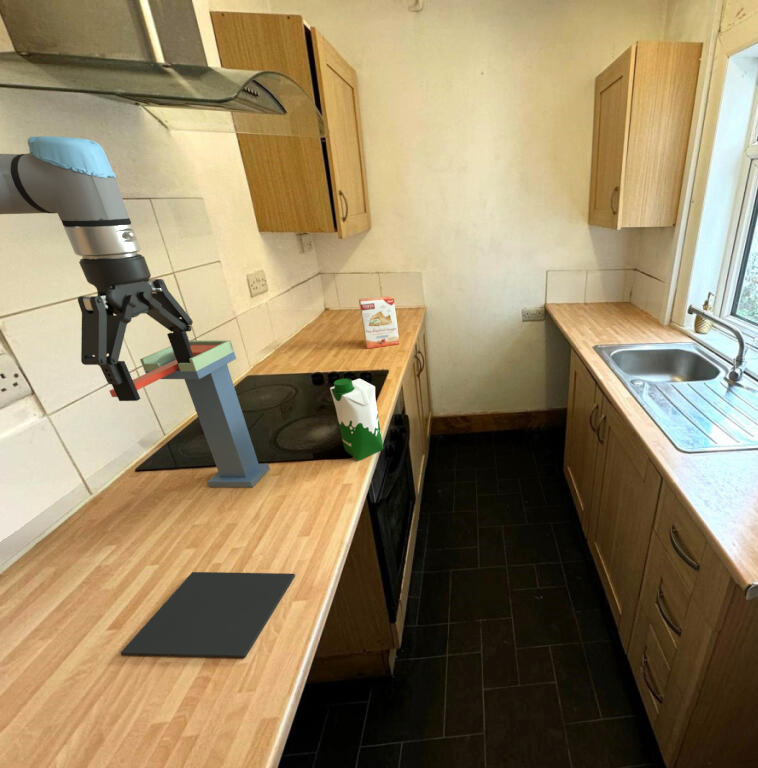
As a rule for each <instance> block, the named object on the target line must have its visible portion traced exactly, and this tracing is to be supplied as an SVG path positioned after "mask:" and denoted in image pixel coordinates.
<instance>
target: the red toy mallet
mask: <svg viewBox="0 0 758 768" xmlns="http://www.w3.org/2000/svg"><path fill="white" fill-rule="evenodd" d="M190 346H191V347H190V348H191V351H192V354H193V356H194V357H195V356H197V355H199V354H201V353H203V352H205V351H207V350H209V349H211V348H213V347H215V346H217V345H190ZM173 353H174V352H173ZM174 356H175V354H174ZM175 358H176V357H175ZM177 370H179V366H178V362H177V359H176V360H175V361H172V362H170V363H168V364H166V365H164V366H162V367H159V368H157V369H155V370H153V371H151V372H149V373H144V374H142V375H140V376H138V377H136V378H132V380H133V382H134V385H135V387H136V389H137V391H139V390H141V389H143V388H145V387H147V386H149V385H151V384H153V383H155V382H157V381H159V380H162V379H161V378H163V377H165V376H167V375H169V374H171V373H173V372H175V371H177ZM109 394H110V396H111V397H112V398H118V397H117V395H116V393H115V390H114V388H111V389H109Z"/></svg>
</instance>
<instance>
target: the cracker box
mask: <svg viewBox="0 0 758 768" xmlns="http://www.w3.org/2000/svg"><path fill="white" fill-rule="evenodd" d="M358 304H359V310H360V311H359V312H360V316H361V317H360V318H361V323H362V330H363V335H364V342H365V346H366V348H367V349H375V348H383V347H388V346H389V347H390V346H397V345H400V336H399V330H398V321H397V312H396V303H395V298H394V297H393V296H392V295H388V296H377V297H376V296H375V297H366V298H358Z"/></svg>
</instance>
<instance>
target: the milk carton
mask: <svg viewBox="0 0 758 768" xmlns="http://www.w3.org/2000/svg"><path fill="white" fill-rule="evenodd" d="M329 390H330V394H331V397H332V400H333V405H334V407H335V412H336V416H337V421H338V425H339V431H340V435H341V440H342V445H343V448H344V449H343V450H344V451H345V452H346V453H347V454H348V455H349V456H351V457H352V458H353V459H355V460H356V461H358V462H359V461H362V460H364V459H366V458H369V457H370V456H372V455H374V454H376V453H379V452H381V451H383V450H384V444H383V443H384V442H383V437H382V431H381V426H380V425H381V424H380V419H379V418H380V417H379V413H378V407H377V400H376V386H375V385H373V384H371V383H369V382H367V381H365V380H364V379H361V378H356V379H354V380H352V379H351V378H346V377H345V378H339V379H336V380H335V381H334V382H333V386H331V387H330V388H329Z"/></svg>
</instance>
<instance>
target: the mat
mask: <svg viewBox="0 0 758 768" xmlns="http://www.w3.org/2000/svg"><path fill="white" fill-rule="evenodd" d="M295 578H296V574H295V573H286V572H285V573H283V572H282V573H281V572H280V573H279V572H278V573H277V572H276V573H275V572H222V571H221V572H220V571H219V572H217V571H215V572H213V571H204V572H203V571H192V572H191V573H190V574H189V575H188V576H187V577H186V579H185V580H183V582H182V583H181V584H180V585H179V586H178V588H177V589H176V590H175V591H173V593H172V594H171V595H170V597H169V598H168V599H166V601H165V602H164V603H163V604H162V605H161V607H159V609H158V610H157V611H156V612H155V614H154V615H152V617H151V618H150V619H149V620H148V621H147V622H146V623H145V624H144V626H143V627H142V628H141V629H140V630H139V631H138V632H137V633H136V635H134V637H133V638H132V639H131V640H130V641H129V643H127V644H126V645H125V647H124V648H123V649H122V650H121V652H120V655H121V656H126V657H127V656H128V657H130V656H134V657H172V658H175V657H176V658H212V659H216V658H217V659H246V657H247V656H248V654H249V653H250V651H251V649H252V647H253V646H254V644H255V643H256V642H257V640H258V638H259V636H260V635H261V633H262V631H263V629H264V628H265V626H266V625H267V623H268V622H269V620H270V618H271V617H272V615H273V613H274V612H275V610H276V609H277V607H278V605H279V604H280V602H281V600H282V599H283V597H284V596H285V594H286V593H287V590H288V589H289V587H290V586H291V584H292V583H293V581H294V579H295Z"/></svg>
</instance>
